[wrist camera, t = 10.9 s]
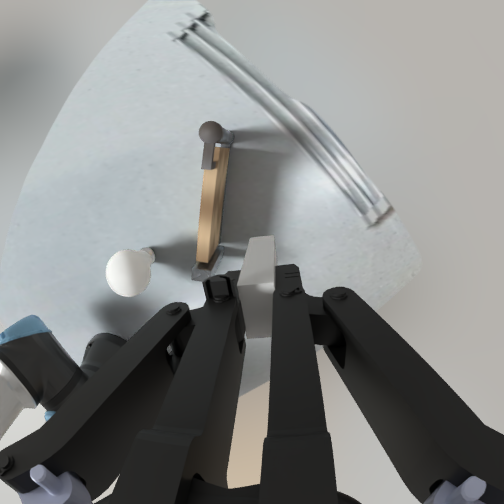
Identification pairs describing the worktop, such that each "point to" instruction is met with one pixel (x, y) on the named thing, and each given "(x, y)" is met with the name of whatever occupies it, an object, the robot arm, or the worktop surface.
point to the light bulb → (130, 271)
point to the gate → (211, 190)
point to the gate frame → (208, 269)
